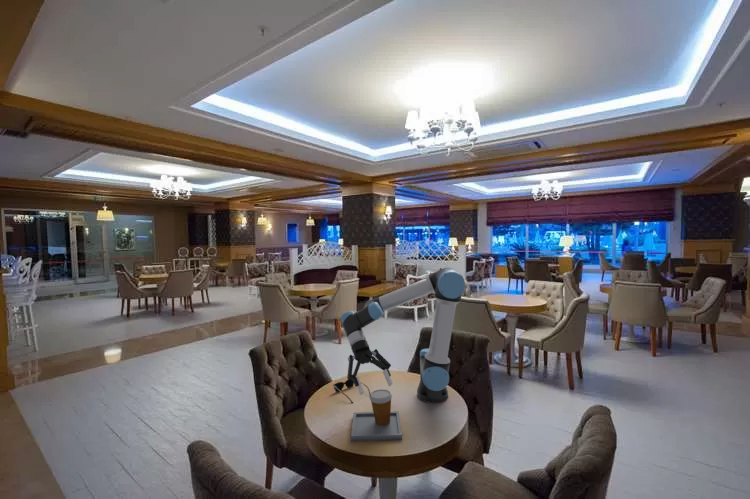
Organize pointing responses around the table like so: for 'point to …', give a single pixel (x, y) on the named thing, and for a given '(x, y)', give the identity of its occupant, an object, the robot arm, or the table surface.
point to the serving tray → (375, 427)
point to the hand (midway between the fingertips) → (376, 389)
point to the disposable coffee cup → (381, 406)
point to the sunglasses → (348, 384)
